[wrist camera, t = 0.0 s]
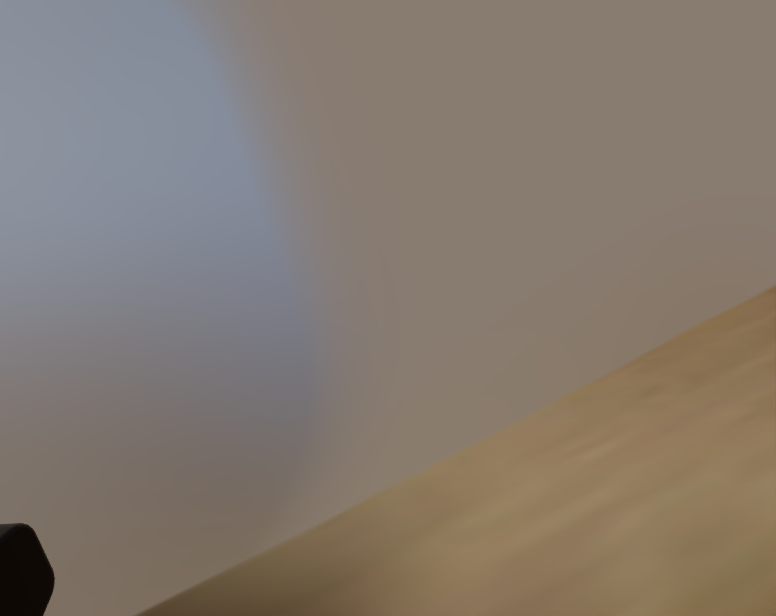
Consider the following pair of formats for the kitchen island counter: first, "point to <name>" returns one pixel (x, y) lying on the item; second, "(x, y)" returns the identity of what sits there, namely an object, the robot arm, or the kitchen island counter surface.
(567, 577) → the kitchen island counter surface
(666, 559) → the kitchen island counter surface
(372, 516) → the kitchen island counter surface
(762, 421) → the kitchen island counter surface
